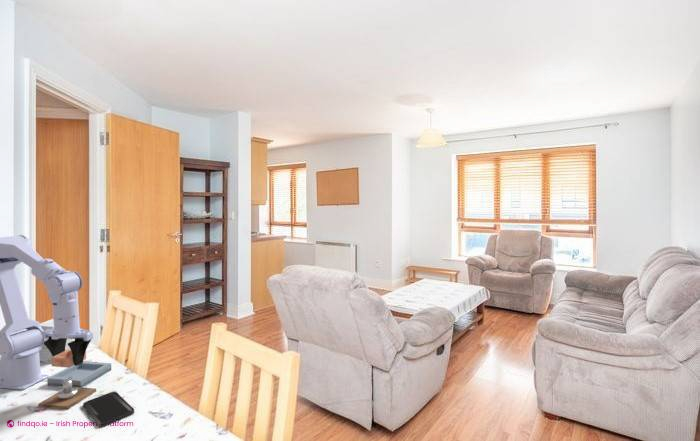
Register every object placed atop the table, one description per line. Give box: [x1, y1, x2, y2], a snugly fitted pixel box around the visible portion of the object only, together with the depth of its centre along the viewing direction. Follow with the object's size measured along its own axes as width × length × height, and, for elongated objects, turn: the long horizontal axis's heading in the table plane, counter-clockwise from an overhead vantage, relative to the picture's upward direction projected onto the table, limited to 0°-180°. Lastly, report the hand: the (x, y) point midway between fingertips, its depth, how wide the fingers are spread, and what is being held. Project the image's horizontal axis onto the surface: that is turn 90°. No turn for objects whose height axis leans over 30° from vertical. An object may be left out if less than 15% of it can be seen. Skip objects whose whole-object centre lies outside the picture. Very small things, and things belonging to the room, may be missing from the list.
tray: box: [46, 360, 112, 388], centre depth 114 cm, size 11×11×2 cm
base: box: [37, 387, 97, 410], centre depth 102 cm, size 9×9×1 cm
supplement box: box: [39, 318, 73, 363], centre depth 128 cm, size 7×7×13 cm
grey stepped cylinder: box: [57, 377, 78, 400], centre depth 102 cm, size 4×4×5 cm
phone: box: [82, 391, 135, 428], centre depth 97 cm, size 8×1×15 cm
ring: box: [51, 349, 87, 368], centre depth 104 cm, size 6×6×2 cm
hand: (69, 363), depth 105 cm, fingers closed on ring, 5 cm apart
